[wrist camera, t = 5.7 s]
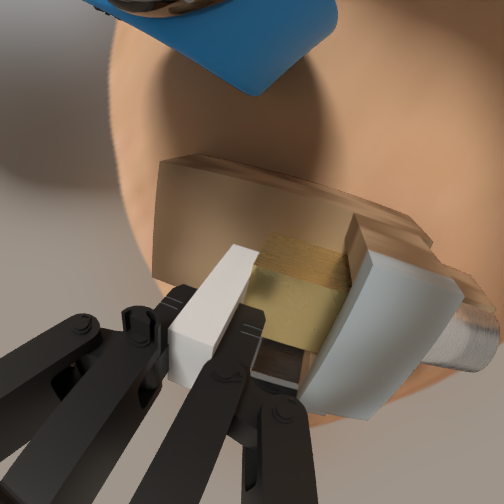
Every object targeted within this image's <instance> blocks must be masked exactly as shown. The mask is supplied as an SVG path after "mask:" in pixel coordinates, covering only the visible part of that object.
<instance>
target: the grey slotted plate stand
mask: <svg viewBox="0 0 504 504" xmlns="http://www.w3.org/2000/svg"><path fill="white" fill-rule="evenodd" d="M303 355H304V349H300V348H297V347H293V346H290V345H287V344H283V343H280V342H277V341H274V340H271V339H267V338H264V337H260V340H259V343H258V346H257V349H256V352H255V355H254V358H253V361H252V364H251V368H252V371H251V374H250V375H251V378H252V380H253V382H254V383H255V384H256V385H257V386H258V387H259V388H260V389H262V390H263V391H265V392H266V393H268V394H269V395H271V396H273V395H277V394H286V395H290V396H293V397H294V398H296V397H297V392H298V386H299V380H300V374H301V368H302V361H303ZM306 411H307V412H309V413H314V414H318V415H323V416H325V415H326V413H321V412H316V411H311V410H307V409H306Z"/></svg>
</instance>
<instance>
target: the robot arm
mask: <svg viewBox="0 0 504 504" xmlns="http://www.w3.org/2000/svg"><path fill="white" fill-rule="evenodd" d="M258 254H259V252H258V251H254V250H251V249H248V248H245V247H242V246H238V245H235V244H233V245H232V246H231V248H230V249H229V250H228V251H227V253H226V254H225V255H224V257H223V258H222V259H221V260H220V262H219V263H218V264H217V266H216V267H215V268H214V269H213V271H212V272H211V273H210V274H209V276H208V277H207V278H206V280H205V281H204V282H203V283H202V285H201V286H200V287H199V289H196V288H193V287H191V286H188V285H185V284H181V285H179V286H177V287H175V288H173V289H172V290H171V291H170V292H169V293H168V294H167V295H166V297H165V298H164V299H163V300H162V301H161V303H159V304H158V305H157V307H156V308H155V309H154V310H153V309H151V308H149V307H145V306H132V307H128V308H126V309H125V310H123V311H122V312H121V313H122V322H123V330H124V331H114V330H110V329H105V328H100V324H99V322H98V320H97V319H96V318H95V317H94V316H92V315H89V314H85V313H83V314H76V315H74V316H71V317H69V318H68V319H66V320H64V321H62V322H61V323H59V324H57V325H55V326H54V327H52V328H50V329H49V330H47V331H45V332H44V333H42V334H40V335H38V336H37V337H35V338H33V339H32V340H30V341H28V342H27V343H25V344H23V345H22V346H20V347H18V348H17V349H15V350H13V351H12V352H10V353H8V354H7V355H5V356H4V357H2V358H0V462H1V461H3V460H4V459H5V458H7V457H8V456H10V455H11V454H12V453H14V452H15V451H16V450H18V449H19V448H21V447H22V446H23V445H25V444H26V443H27V442H29V441H30V440H31V441H30V442H29V443H28V445H27V446H26V447H25V449H24V450H23V451H22V453H21V454H20V455H19V456H18V458H17V459H16V461H15V462H14V463H13V465H12V466H11V467H10V469H9V470H8V472H7V473H6V475H5V476H4V477H3V479H2V480H1V481H0V504H92V502H93V501H94V499H95V497H96V496H97V494H98V492H99V491H100V489H101V487H102V486H103V484H104V483H105V481H106V479H107V478H108V476H109V474H110V473H111V471H112V470H113V468H114V466H115V465H116V463H117V461H118V460H119V458H120V456H121V455H122V453H123V452H124V450H125V448H126V446H127V445H128V443H129V442H130V440H131V438H132V437H133V435H134V433H135V432H136V430H137V429H138V427H139V425H140V423H141V422H142V421H143V419H144V417H145V416H146V414H147V412H148V411H149V409H150V407H151V406H152V404H153V402H154V401H155V399H156V398H157V396H158V395H159V393H160V391H161V388H162V380H163V378H164V377H165V375H166V374H167V372H168V380H170V381H172V382H174V383H177V384H179V385H181V386H184V387H186V388H188V389H191V390H190V392H189V394H188V395H187V397H186V399H185V401H184V403H183V405H182V407H181V409H180V411H179V412H178V414H177V416H176V418H175V420H174V422H173V424H172V426H171V428H170V429H169V431H168V433H167V435H166V437H165V439H164V440H163V442H162V444H161V446H160V448H159V450H158V452H157V454H156V455H155V457H154V459H153V461H152V463H151V464H150V466H149V468H148V470H147V472H146V474H145V475H144V477H143V480H142V481H141V483H140V485H139V486H138V488H137V490H136V492H135V494H134V496H133V497H132V499H131V501H130V503H129V504H199V502H200V500H201V497H202V495H203V492H204V490H205V488H206V485H207V483H208V480H209V478H210V475H211V473H212V470H213V468H214V465H215V463H216V460H217V458H218V455H219V452H220V450H221V447H222V445H223V442H224V439H225V437H226V434H227V435H228V436H230V437H231V438H233V439H234V440H236V441H237V442H239V443H240V444H242V445H243V453H242V492H241V504H318V497H317V488H316V478H315V470H314V462H313V453H312V445H311V437H310V430H309V422H308V415H307V411H306V409H305V406H304V405H303V404H302V403H301V402H300V401H299V400H298V399H296V398H294V397H293V396H290V395H286V394H277V395H273V396H271V395H269V394H268V393H266V392H265V391H263V390H262V389H260V388H259V387H258V386H257V385H256V384H255V383H254V382H253V380H252V378H251V375H250V367H251V364H252V361H253V358H254V355H255V352H256V349H257V346H258V343H259V340H260V337H261V334H262V331H263V328H264V325H265V322H266V318H265V314H264V311H263V310H260V309H257V308H254V307H251V306H248V305H245V304H244V300H245V296H246V292H247V288H248V284H249V280H250V277H251V270H252V266H253V264H254V262H255V260H256V258H257V256H258Z"/></svg>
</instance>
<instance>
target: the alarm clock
mask: <svg viewBox="0 0 504 504" xmlns="http://www.w3.org/2000/svg"><path fill="white" fill-rule="evenodd" d="M83 1H85V2H87V3H89V4H91V5H93V6H94V7H95V9H96V10H99V11H102V12H106V13H105V14H106V15H112V16H114V17H115V18H117V19H118V20H121V21H124V22H126V23H128V24H130V25H132V26H134V27H136V28H137V29H139V30H141V31H143V32H145V33H146V34H148V35H150V36H152V37H153V38H155V39H157V40H159V41H161V42H162V43H164V44H166V45H167V46H169V47H171V48H172V49H174V50H176V51H177V52H179V53H181V54H182V55H184V56H186V57H187V58H189V59H191V60H192V61H194V62H195V63H197V64H199V65H200V66H202V67H203V68H205V69H207V70H208V71H210V72H211V73H213V74H214V75H216V76H218V77H219V78H221V79H222V80H224V81H226V82H227V83H229V84H230V85H232V86H234V87H235V88H237V89H239V90H240V91H242V92H244V93H246V94H248V95H250V96H259V95H261V94H262V93H263V92H264V91H266V90H267V89H268V88H269V87H270V86H271V85H272V84H273V83H274V82H275V81H276V80H277V79H278V78H279V77H280V76H282V75H283V74H284V73H285V72H286V71H287V70H288V69H289V68H290V67H291V66H293V65H294V64H295V63H296V62H297V61H298V60H299V59H301V58H302V57H303V56H304V55H305V54H307V53H308V52H309V51H310V50H311V49H312V48H314V47H315V46H316V45H317V44H319V43H320V42H321V41H322V40H324V39H325V38H326V37H327V36H329V35H330V34H331V33H332V32H333V31H334V29H335V27H336V25H337V19H338V11H337V5H336V2H335V0H83Z"/></svg>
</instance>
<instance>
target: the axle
mask: <svg viewBox="0 0 504 504" xmlns="http://www.w3.org/2000/svg"><path fill="white" fill-rule="evenodd" d="M499 338H500V327H499V323H498V320H497V318H496V317H495V315H494V314H492V313H491V312H488V311H485V310H483V309H480V308H477V307H474V306H472V305H469V304H466V303H463V302H461V304H460V306H459V307H458V309H457V311H456V312H455V314H454V315H453V317H452V319H451V320H450V322H449V323H448V325H447V326H446V328H445V329H444V331H443V332H442V334H441V335H440V337H439V338H438V339H437V341H436V342H435V344H434V345H433V346H432V348H431V349H430V351H429V352H428V353H427V355H426V356H425V357H424V358H423V360H422V361H421V362H420V363H421V364H426V365H432V366H437V367H442V368H448V369H454V370H460V371H466V372H478V371H480V370H482V369H483V368H485V367H486V366H487V365H488V364H489V363H490V361H491V360H492V358H493V357H494V355H495V353H496V350H497V347H498V344H499Z"/></svg>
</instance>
